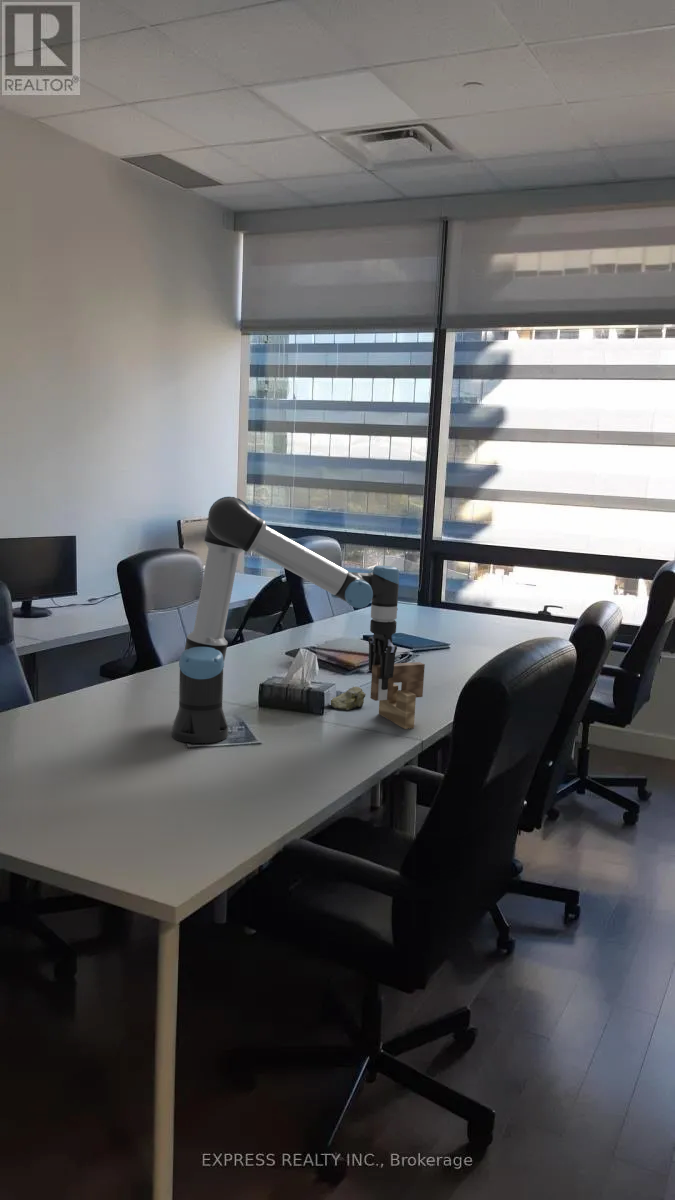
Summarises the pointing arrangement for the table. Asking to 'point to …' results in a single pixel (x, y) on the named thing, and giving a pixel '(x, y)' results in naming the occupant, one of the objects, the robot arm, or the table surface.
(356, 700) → the rock
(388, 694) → the walnut plate
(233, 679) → the table surface
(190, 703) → the robot arm
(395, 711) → the oak board
